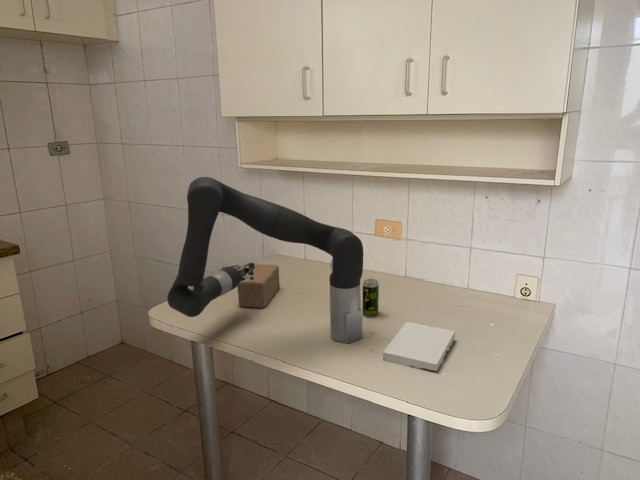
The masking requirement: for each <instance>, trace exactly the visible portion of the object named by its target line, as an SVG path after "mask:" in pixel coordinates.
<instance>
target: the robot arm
mask: <svg viewBox="0 0 640 480" xmlns="http://www.w3.org/2000/svg"><path fill="white" fill-rule="evenodd" d="M186 203H187V229H186V230H187V231H186V236H185V239H184V244H183V247H182V250H181V255H180V259H179V266H178V271H177V275H176V277H175V279H174V281H173V283H172V285H171V288H170V289H169V292H168V294H167V299H166V300H167V304H168V306H169V307H170V308H171V309H173V310H175V311H177V312H178V313H180V314H182V315H184V316H185V317H188V318H195V317H198V316H199V315H201V313H202V312H203V311H204V310H205V309H206V307H208V305H209V304H210V303H211V302H212V301H213V300H216V299H217V298H219V297H221V296H224V295H226V294H227V293H229V292H231V291H233V290H234V289H236V288H238V285H239V283H240V281H243V280H245V279H246V278H249V279H250V280H253V279H254V273H253V269H255V265H256V264H255V262H249V263H247V264H242V265H239V264H236V265H231V266H224V267H221V268H220V269H219V270H216V271H215V272H213V273H211V274H209V275H208V276H207V277H205V271H206V267H207V262H208V254H209V247H210V241H211V237H212V233H213V230H214V227H215V226H214V225H215V224H216V220H217V218H218V216H219V214H220V213H222V214H225V215H228V216H232V217H234V218H236V219H237V220H239V221H241V222H242V223H244V224H245V225H247V226H248V227H250V228H251V229H253V230H255V231H256V232H258V233H261V234H262V235H265V236H267V237H270V238H273V239H275V240H278V241H282V242H287V243H292V244H294V243H295V244H303V245H307V246H311V247H313V248H316V249H318V250H321V251H323V252H324V253H326V254H329V255H330V256H331V257H332V258H333V272H332V273H331V272H330V275H329V313H330V314H329V319H330V321H329V322H330V337H331V339H332V340H334V341H336V342H341V343H344V344H349V343H352V342H355V341H357V340H360V339H362V338H363V308H361V279H362V276H363V273H364V272H363V271H364V270H363V269H364V245H363V242H362V240H361V239H360V238H359V237H358V236H357V235H356V234H355V233H353V232H352V231H350V230H348V229H347V228H346V229H345V228H342V227H337V226H333V225H329V224H326V223H322V222H319V221H317V220H314V219H312V218H310V217H308V216H307V215H304V214H302V213H300V212H298V211H295V210H293V209H290V208H289V207H286V206H284V205H281V204H280V205H279V204H278V203H275V202H272V201H268V200H266V199H263V198H260V197H257V196H254V195H252V194H247V193H244V192H242V191H239V190H237V189H236V188H233V187H231V186H230V185H227V184H226V183H223V182H221V181H219V180H217V179H215V178H213V177H210V176H200V177H197V178H195V179H194V180H193V181H192V182H190V184H189V186H188V190H187V195H186ZM189 287H192V289H191V288H189Z"/></svg>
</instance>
